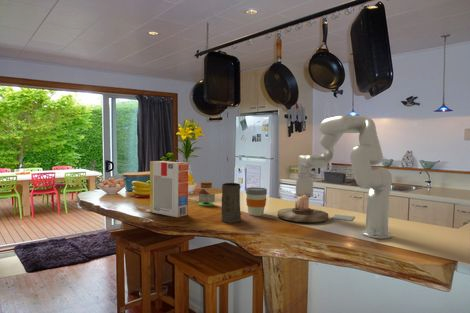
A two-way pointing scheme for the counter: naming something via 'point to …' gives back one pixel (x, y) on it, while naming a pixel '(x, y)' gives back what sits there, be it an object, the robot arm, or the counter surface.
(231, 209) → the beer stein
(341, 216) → the mat
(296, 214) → the lazy susan
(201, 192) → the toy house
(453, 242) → the counter surface
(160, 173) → the pasta box
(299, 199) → the pink mug
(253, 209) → the reusable coffee cup
